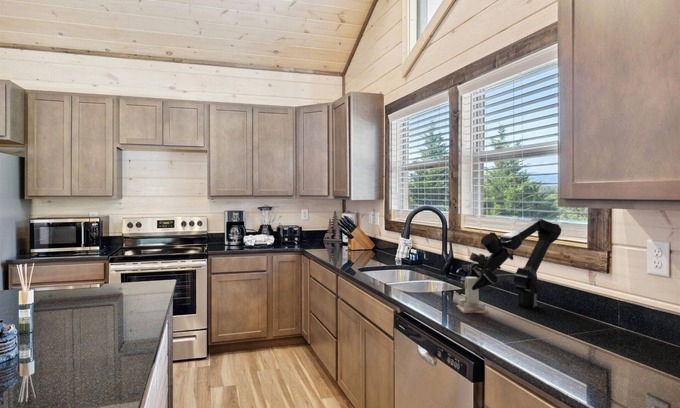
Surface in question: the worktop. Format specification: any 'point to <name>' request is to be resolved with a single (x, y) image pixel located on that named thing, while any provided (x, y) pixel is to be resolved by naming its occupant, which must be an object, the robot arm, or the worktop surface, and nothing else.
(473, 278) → the grey-green rectangular block
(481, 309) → the hinge clip plate
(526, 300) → the robot arm
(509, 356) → the worktop surface
